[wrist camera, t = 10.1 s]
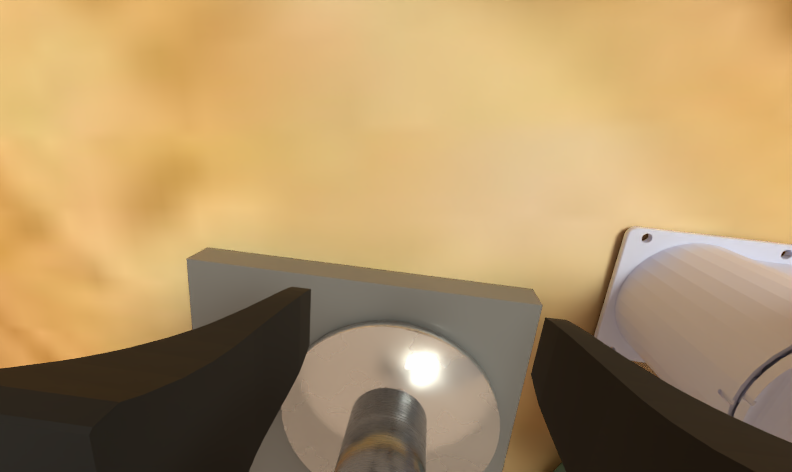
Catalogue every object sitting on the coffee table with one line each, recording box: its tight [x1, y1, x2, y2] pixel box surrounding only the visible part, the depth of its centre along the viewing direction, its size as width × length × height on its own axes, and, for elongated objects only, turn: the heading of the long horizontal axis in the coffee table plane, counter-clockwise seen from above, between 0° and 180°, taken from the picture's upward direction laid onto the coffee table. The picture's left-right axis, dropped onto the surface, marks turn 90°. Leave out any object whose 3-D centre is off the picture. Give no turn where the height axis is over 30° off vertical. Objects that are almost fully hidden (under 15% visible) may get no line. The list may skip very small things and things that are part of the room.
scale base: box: [187, 248, 543, 472], centre depth 23 cm, size 20×17×2 cm
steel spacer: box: [334, 388, 427, 472], centre depth 19 cm, size 4×4×6 cm
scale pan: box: [281, 320, 500, 472], centre depth 22 cm, size 13×13×1 cm
